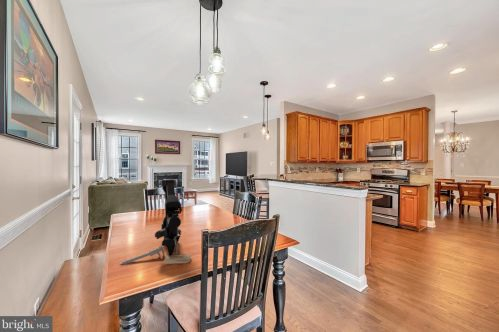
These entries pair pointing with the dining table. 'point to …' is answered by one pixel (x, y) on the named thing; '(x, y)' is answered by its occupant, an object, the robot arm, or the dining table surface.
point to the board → (177, 259)
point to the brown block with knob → (174, 250)
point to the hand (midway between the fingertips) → (172, 253)
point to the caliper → (145, 255)
